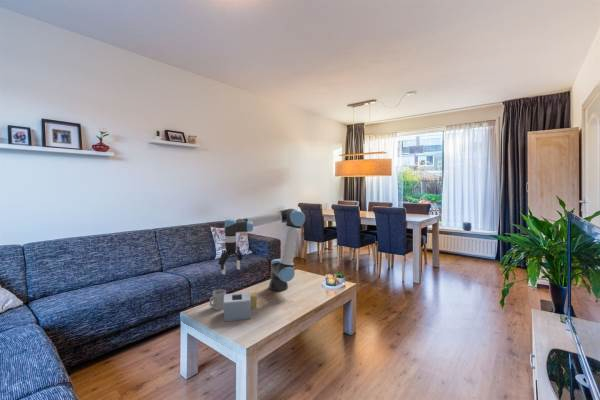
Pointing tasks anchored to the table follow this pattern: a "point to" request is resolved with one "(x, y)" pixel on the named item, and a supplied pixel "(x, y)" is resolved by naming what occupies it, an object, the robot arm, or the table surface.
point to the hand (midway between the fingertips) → (231, 271)
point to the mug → (218, 299)
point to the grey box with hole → (237, 306)
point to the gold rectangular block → (253, 300)
